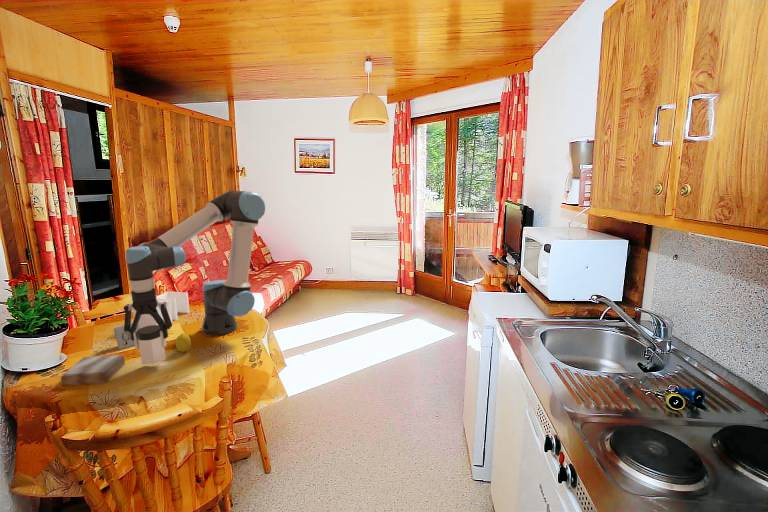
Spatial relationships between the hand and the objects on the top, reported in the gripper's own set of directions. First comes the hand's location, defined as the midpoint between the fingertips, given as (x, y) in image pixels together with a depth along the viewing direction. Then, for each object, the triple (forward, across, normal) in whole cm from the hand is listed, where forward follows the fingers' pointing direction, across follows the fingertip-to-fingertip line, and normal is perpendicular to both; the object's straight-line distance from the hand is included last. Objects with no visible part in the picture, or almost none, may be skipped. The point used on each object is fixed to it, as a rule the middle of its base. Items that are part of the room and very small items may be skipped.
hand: (151, 346), depth 153 cm
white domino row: (+9, +13, -49) cm, 51 cm away
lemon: (+9, -7, -11) cm, 16 cm away
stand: (+8, +19, +4) cm, 20 cm away
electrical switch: (+8, +18, -21) cm, 29 cm away
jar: (+5, 0, 0) cm, 5 cm away
